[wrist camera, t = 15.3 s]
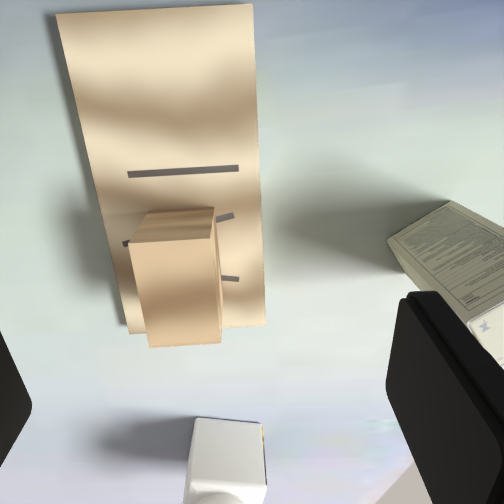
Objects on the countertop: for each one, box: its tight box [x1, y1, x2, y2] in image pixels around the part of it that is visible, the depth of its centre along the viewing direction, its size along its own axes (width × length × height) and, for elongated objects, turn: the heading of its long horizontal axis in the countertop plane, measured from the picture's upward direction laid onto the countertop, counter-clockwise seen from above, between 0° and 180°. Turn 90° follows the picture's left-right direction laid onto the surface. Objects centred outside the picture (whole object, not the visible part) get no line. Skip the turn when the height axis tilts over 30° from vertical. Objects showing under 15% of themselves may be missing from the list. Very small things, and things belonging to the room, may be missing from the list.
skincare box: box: [387, 201, 504, 366], centre depth 26 cm, size 6×4×12 cm
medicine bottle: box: [183, 417, 267, 504], centre depth 36 cm, size 7×7×12 cm
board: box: [55, 4, 266, 334], centre depth 29 cm, size 24×12×1 cm, turn 3°
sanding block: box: [128, 207, 223, 348], centre depth 28 cm, size 8×5×6 cm, turn 3°
